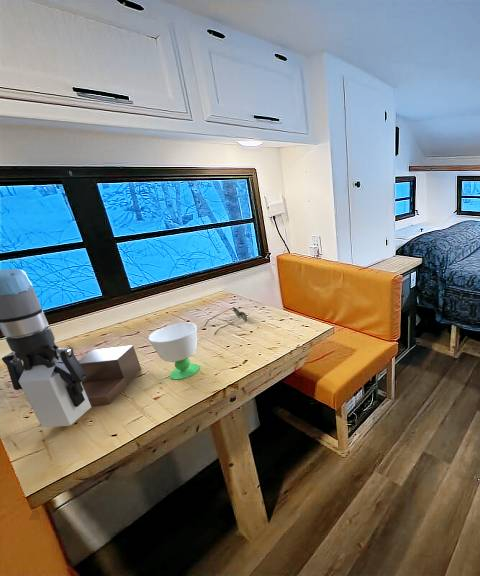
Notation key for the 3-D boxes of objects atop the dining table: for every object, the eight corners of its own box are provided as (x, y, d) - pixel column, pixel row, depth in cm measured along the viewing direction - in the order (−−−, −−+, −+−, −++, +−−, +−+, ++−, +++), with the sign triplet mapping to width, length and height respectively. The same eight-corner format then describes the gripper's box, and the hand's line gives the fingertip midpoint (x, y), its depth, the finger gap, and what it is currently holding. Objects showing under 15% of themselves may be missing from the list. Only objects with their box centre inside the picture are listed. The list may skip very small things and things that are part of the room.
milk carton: (70, 426, 82) (42, 366, 75) (42, 428, 81) (11, 368, 74) (92, 407, 88) (67, 350, 82) (65, 409, 88) (39, 352, 81)
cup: (167, 365, 110) (154, 326, 105) (209, 357, 115) (199, 319, 109) (156, 388, 98) (141, 345, 93) (204, 377, 103) (193, 336, 97)
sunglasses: (249, 323, 141) (246, 314, 139) (216, 338, 131) (212, 328, 129) (235, 315, 150) (232, 306, 148) (203, 328, 140) (200, 318, 138)
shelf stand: (63, 410, 90) (49, 382, 86) (103, 374, 106) (93, 349, 103) (109, 404, 92) (98, 376, 88) (141, 369, 108) (133, 345, 105)
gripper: (86, 320, 81) (113, 391, 89) (-7, 328, 77) (30, 401, 85) (64, 334, 74) (96, 409, 82) (-39, 343, 70) (4, 421, 78)
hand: (62, 405), depth 83 cm, fingers closed on milk carton, 7 cm apart
